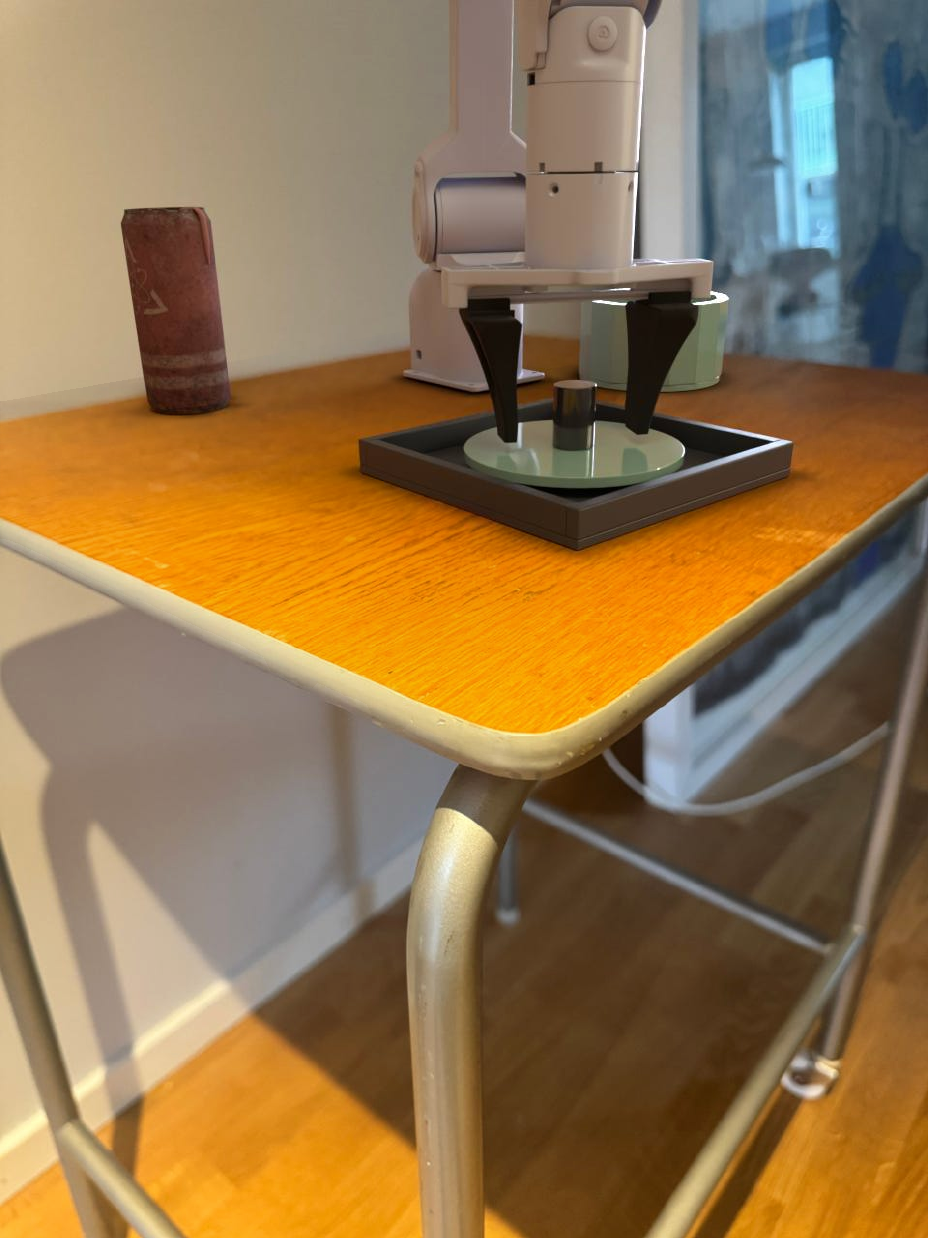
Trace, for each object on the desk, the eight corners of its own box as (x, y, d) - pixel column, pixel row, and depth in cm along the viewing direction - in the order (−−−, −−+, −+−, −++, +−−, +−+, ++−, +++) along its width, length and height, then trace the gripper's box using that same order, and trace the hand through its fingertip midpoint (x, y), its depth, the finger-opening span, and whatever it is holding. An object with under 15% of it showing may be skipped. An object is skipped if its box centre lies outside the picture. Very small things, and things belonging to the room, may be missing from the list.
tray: (359, 472, 58) (357, 438, 57) (567, 422, 68) (568, 393, 67) (577, 550, 46) (578, 510, 45) (789, 475, 56) (794, 441, 55)
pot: (556, 384, 80) (558, 301, 77) (609, 360, 89) (613, 285, 86) (695, 397, 75) (702, 309, 72) (736, 371, 84) (744, 291, 81)
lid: (422, 479, 55) (419, 395, 53) (522, 429, 64) (523, 357, 62) (637, 513, 49) (643, 420, 47) (711, 452, 59) (718, 373, 57)
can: (214, 416, 71) (188, 207, 65) (133, 414, 72) (101, 208, 66) (247, 398, 76) (226, 204, 71) (172, 396, 78) (145, 205, 72)
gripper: (456, 176, 45) (460, 461, 51) (748, 170, 48) (721, 444, 53) (432, 174, 52) (438, 428, 57) (691, 170, 54) (672, 415, 60)
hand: (572, 434), depth 56 cm, fingers open, 7 cm apart
